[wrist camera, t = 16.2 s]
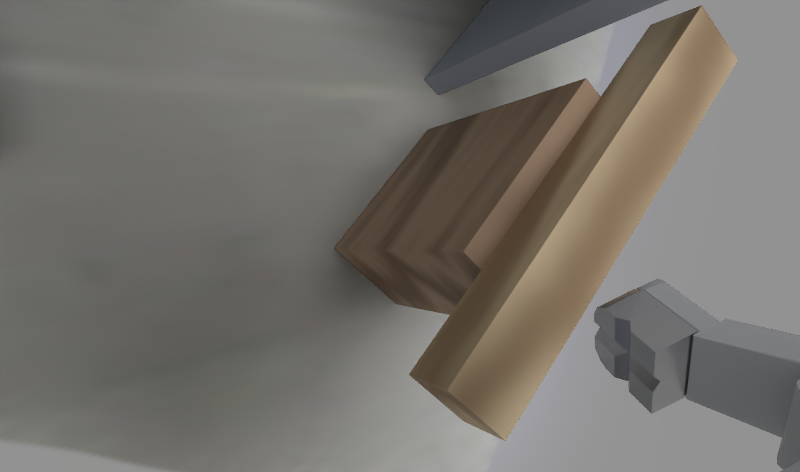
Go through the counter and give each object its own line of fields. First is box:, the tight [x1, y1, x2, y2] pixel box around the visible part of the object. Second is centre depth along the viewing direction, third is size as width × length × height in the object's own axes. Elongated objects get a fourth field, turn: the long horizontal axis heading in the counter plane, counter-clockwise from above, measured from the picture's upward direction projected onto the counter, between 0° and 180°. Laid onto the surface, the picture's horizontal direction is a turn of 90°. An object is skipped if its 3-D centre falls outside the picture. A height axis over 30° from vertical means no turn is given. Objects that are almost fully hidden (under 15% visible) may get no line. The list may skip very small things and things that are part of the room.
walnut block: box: [335, 78, 600, 315], centre depth 36 cm, size 6×11×16 cm, turn 139°
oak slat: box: [409, 5, 738, 441], centre depth 28 cm, size 4×22×3 cm, turn 139°
